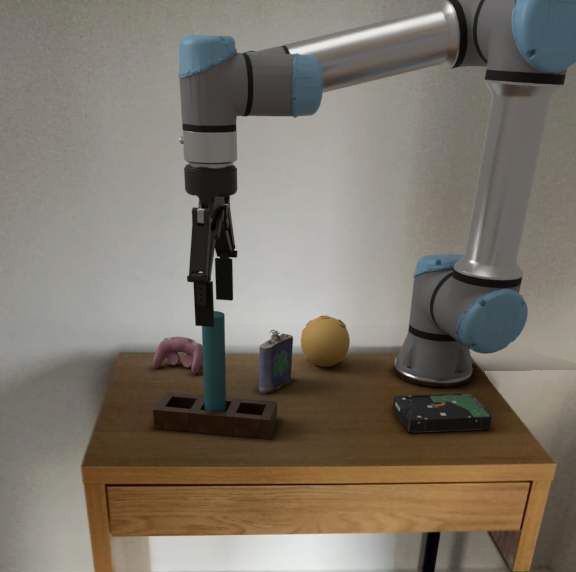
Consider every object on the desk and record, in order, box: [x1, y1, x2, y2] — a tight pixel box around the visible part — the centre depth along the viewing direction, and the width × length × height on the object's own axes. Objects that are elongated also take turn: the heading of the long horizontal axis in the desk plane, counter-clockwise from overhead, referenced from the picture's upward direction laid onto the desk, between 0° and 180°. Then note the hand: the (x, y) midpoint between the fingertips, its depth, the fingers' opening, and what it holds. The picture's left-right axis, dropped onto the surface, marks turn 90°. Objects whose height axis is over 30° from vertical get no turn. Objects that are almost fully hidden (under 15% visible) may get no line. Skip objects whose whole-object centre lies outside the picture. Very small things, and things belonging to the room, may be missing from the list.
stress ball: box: [300, 315, 351, 368], centre depth 150 cm, size 10×10×10 cm
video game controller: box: [152, 336, 203, 375], centre depth 148 cm, size 10×5×7 cm, turn 72°
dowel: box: [201, 310, 227, 412], centre depth 123 cm, size 4×4×19 cm
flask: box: [258, 329, 294, 395], centre depth 140 cm, size 9×3×11 cm, turn 146°
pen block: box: [152, 391, 278, 440], centre depth 127 cm, size 20×8×4 cm, turn 82°
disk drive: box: [392, 393, 493, 433], centre depth 131 cm, size 10×3×15 cm
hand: (215, 312), depth 117 cm, fingers open, 13 cm apart
